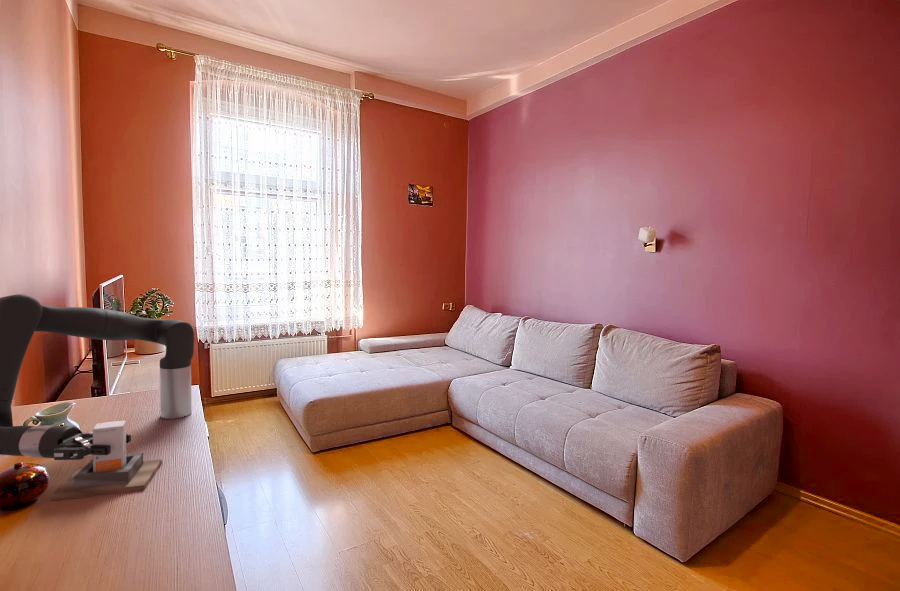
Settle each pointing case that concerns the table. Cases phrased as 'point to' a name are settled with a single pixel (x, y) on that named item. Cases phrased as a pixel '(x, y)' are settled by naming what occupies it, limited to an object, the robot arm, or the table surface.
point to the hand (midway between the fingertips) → (120, 444)
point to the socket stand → (109, 479)
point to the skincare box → (116, 439)
